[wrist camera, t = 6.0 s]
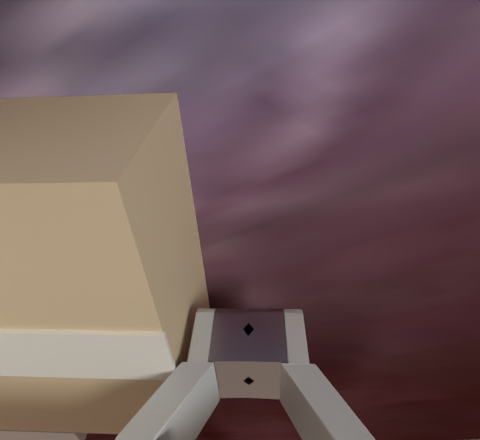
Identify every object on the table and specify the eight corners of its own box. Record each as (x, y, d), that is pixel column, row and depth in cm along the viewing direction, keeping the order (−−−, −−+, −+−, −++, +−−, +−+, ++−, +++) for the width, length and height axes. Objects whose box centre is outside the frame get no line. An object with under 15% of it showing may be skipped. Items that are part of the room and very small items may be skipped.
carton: (180, 89, 8) (117, 185, 5) (213, 315, 14) (196, 441, 10) (-154, 100, 9) (-440, 192, 5) (4, 312, 14) (-84, 429, 11)
